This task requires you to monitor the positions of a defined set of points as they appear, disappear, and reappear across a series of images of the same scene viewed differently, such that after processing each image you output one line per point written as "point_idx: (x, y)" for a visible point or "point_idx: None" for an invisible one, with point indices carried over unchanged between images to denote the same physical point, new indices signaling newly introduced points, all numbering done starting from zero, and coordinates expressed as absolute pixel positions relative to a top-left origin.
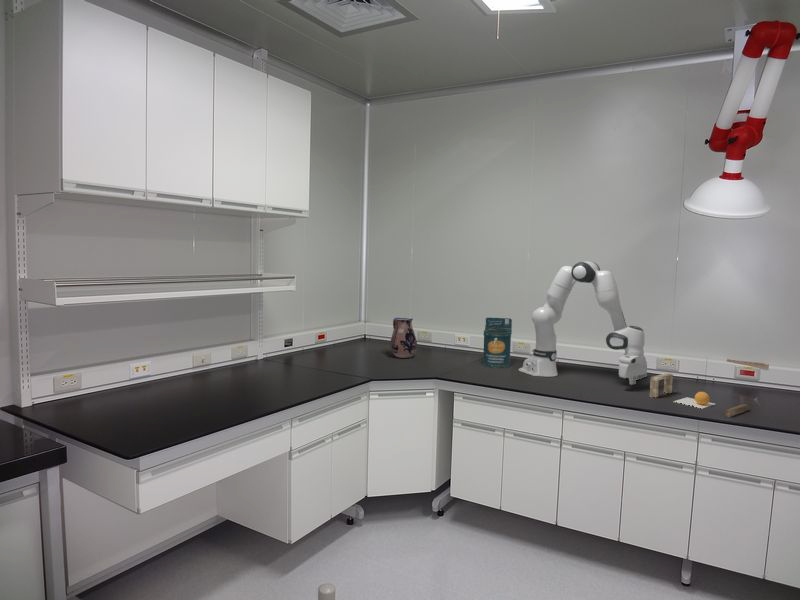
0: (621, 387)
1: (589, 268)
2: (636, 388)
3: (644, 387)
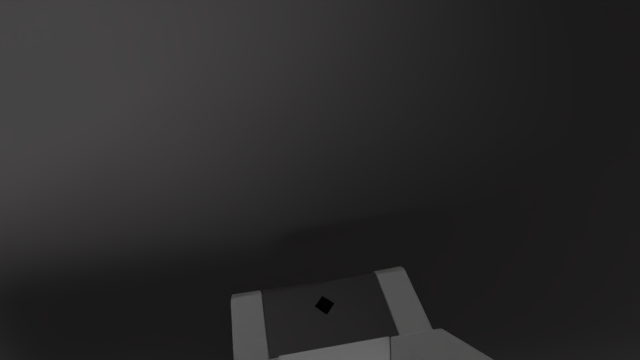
0: (88, 70)
1: None
2: None
3: (605, 274)
